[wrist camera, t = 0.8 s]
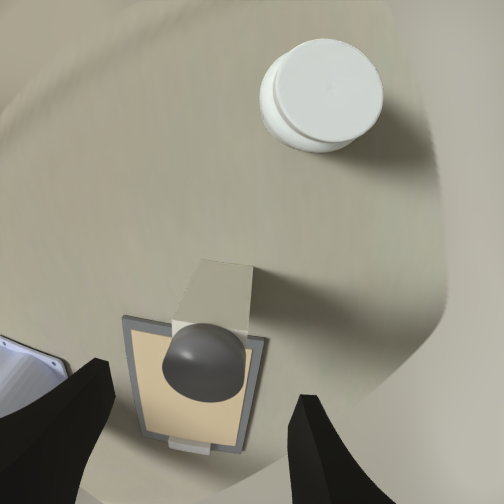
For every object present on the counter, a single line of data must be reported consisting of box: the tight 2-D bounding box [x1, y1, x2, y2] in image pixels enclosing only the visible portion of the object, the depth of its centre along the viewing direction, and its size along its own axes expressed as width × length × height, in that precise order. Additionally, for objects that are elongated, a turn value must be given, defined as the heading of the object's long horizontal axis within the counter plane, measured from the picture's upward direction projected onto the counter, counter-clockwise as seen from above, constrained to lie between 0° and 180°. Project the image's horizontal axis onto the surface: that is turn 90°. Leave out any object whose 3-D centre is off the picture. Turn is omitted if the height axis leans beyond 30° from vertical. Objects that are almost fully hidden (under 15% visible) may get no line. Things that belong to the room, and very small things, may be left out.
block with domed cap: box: [162, 259, 253, 403], centre depth 15 cm, size 3×3×8 cm
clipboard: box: [122, 315, 264, 455], centre depth 22 cm, size 10×15×1 cm, turn 173°
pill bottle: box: [260, 39, 384, 153], centre depth 12 cm, size 4×4×8 cm
